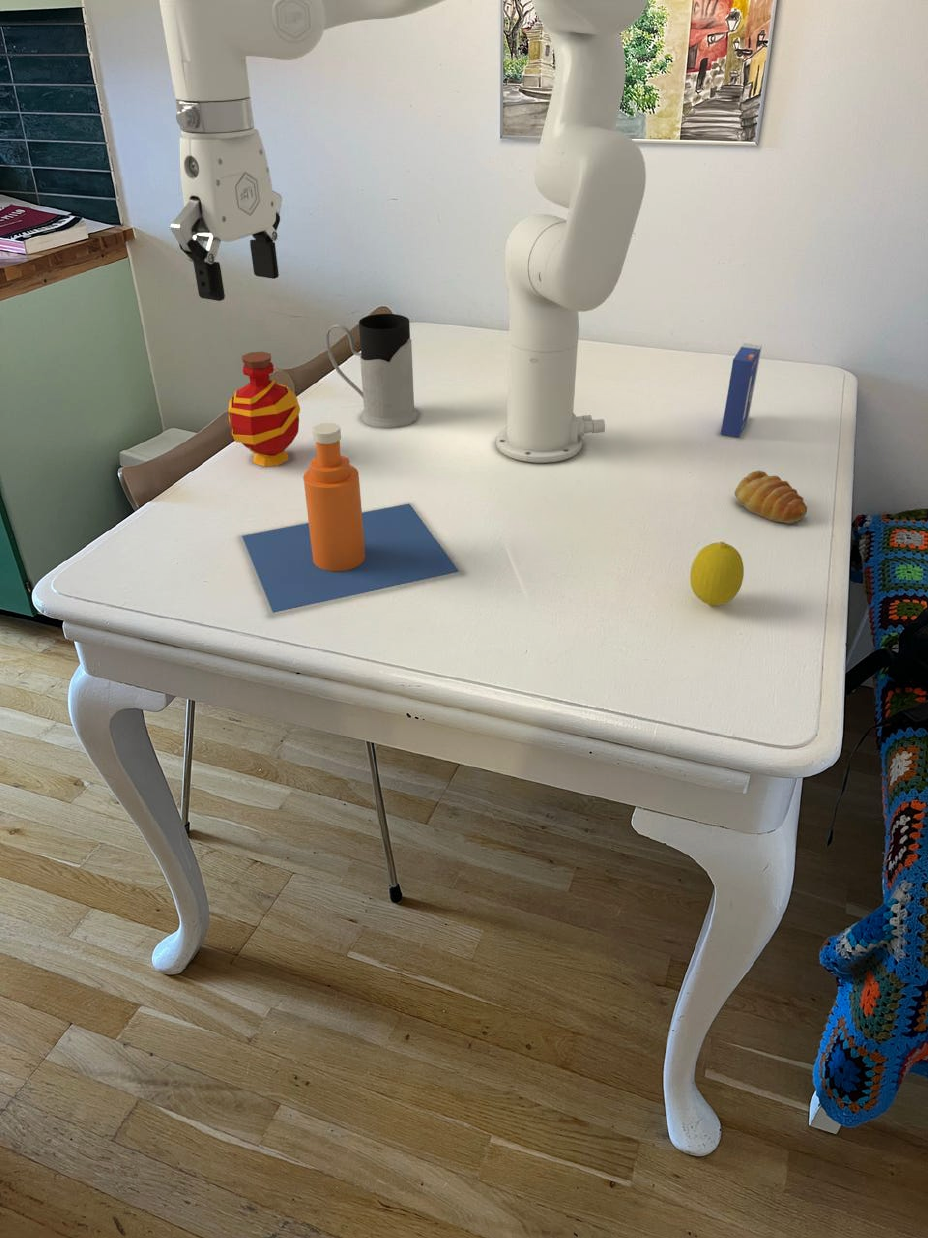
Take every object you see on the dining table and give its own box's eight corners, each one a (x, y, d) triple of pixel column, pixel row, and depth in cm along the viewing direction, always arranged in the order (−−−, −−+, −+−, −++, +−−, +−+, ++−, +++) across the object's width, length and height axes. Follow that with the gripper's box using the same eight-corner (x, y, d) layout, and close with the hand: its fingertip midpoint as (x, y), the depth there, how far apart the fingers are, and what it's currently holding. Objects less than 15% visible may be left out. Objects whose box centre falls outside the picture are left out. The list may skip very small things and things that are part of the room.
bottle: (363, 542, 113) (352, 414, 104) (367, 569, 108) (356, 437, 99) (312, 547, 112) (297, 419, 103) (314, 574, 107) (298, 442, 98)
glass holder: (405, 430, 141) (400, 333, 132) (320, 419, 145) (310, 323, 136) (425, 409, 148) (422, 315, 139) (344, 399, 151) (336, 306, 143)
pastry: (818, 518, 118) (824, 491, 116) (780, 532, 115) (786, 505, 113) (763, 489, 124) (768, 463, 122) (726, 502, 122) (730, 476, 119)
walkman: (739, 438, 138) (753, 359, 131) (720, 434, 139) (733, 356, 132) (749, 418, 144) (763, 342, 137) (731, 415, 145) (744, 339, 138)
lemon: (680, 592, 104) (689, 531, 100) (727, 590, 105) (739, 528, 100) (694, 621, 100) (704, 557, 95) (744, 618, 100) (757, 555, 95)
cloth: (409, 505, 121) (409, 503, 121) (459, 573, 108) (459, 571, 108) (242, 537, 115) (241, 535, 115) (273, 614, 101) (272, 612, 101)
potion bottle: (292, 477, 128) (279, 372, 120) (223, 470, 130) (205, 367, 121) (317, 445, 137) (306, 345, 128) (251, 440, 138) (236, 341, 130)
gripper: (187, 131, 88) (216, 312, 98) (295, 110, 100) (311, 272, 110) (128, 126, 91) (162, 303, 101) (240, 106, 103) (260, 265, 113)
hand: (240, 287), depth 105 cm, fingers open, 9 cm apart
